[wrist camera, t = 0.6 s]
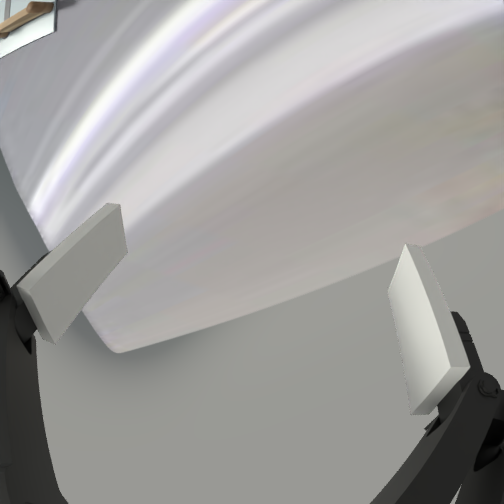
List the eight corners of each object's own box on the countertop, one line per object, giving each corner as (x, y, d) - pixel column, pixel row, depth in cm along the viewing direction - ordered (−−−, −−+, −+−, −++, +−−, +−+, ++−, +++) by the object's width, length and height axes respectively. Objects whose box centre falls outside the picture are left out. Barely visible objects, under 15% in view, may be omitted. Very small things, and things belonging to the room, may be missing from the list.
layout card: (-22, 2, 24) (-24, 2, 24) (64, -56, 21) (62, -57, 20) (-26, 73, 34) (-28, 74, 34) (55, 31, 31) (53, 31, 30)
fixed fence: (3, 28, 29) (-15, 30, 25) (54, -1, 27) (34, -2, 23) (2, 39, 30) (-16, 41, 26) (53, 11, 28) (33, 11, 24)
